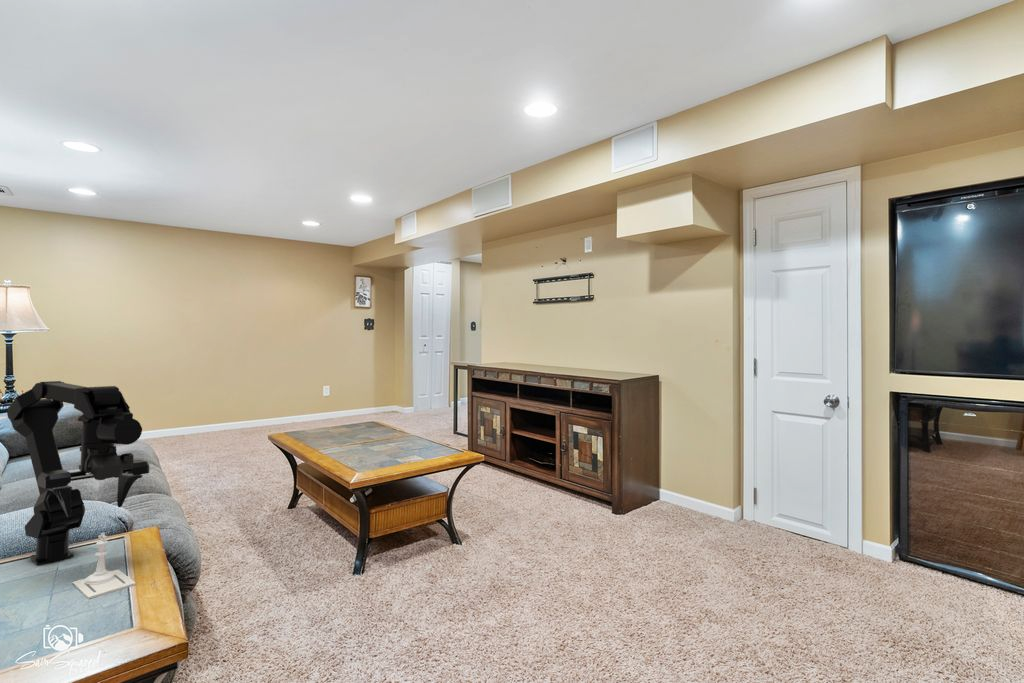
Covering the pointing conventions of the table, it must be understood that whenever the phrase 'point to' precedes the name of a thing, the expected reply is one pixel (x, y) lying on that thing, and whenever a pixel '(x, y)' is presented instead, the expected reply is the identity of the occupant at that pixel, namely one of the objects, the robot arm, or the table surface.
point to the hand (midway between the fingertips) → (95, 511)
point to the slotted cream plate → (104, 585)
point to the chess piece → (100, 565)
